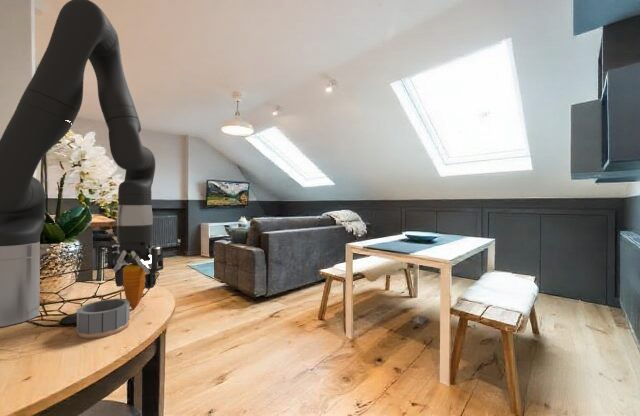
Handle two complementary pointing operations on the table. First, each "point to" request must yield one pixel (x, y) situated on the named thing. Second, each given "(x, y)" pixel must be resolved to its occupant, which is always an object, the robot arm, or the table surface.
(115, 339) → the table surface
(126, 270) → the carrot
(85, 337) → the cup
